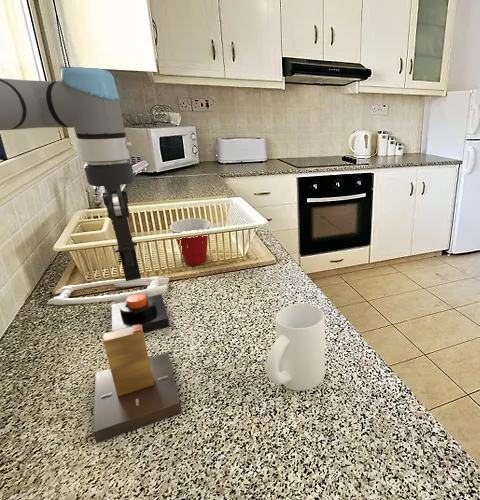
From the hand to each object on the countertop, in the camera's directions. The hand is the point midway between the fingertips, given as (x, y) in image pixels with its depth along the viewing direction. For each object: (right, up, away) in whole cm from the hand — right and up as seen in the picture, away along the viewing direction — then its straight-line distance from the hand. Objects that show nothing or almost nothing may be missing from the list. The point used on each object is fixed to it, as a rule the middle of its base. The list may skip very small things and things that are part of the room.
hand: (133, 278), depth 77 cm
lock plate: (+11, -18, -17) cm, 27 cm away
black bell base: (0, -9, +4) cm, 10 cm away
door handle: (-13, -5, +13) cm, 19 cm away
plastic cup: (-1, +2, +33) cm, 33 cm away
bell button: (0, -6, +2) cm, 6 cm away
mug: (+35, -17, -13) cm, 41 cm away
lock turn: (+11, -16, -18) cm, 26 cm away
